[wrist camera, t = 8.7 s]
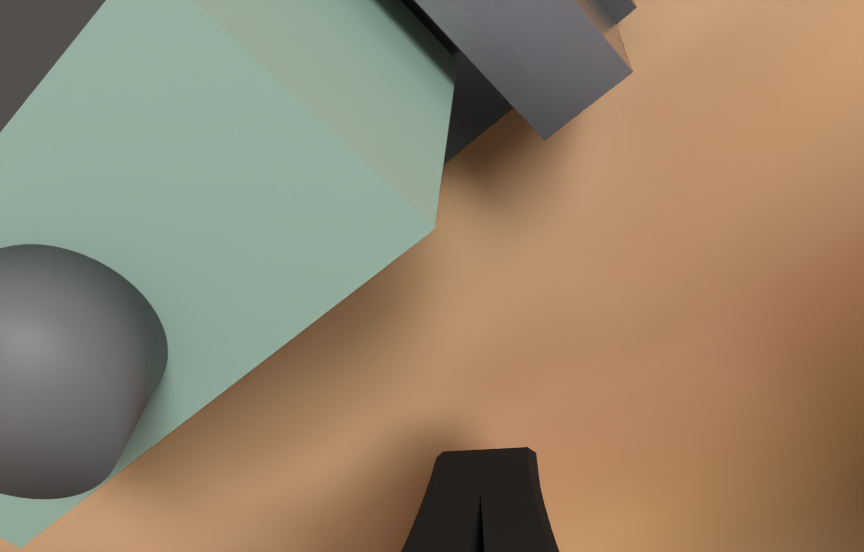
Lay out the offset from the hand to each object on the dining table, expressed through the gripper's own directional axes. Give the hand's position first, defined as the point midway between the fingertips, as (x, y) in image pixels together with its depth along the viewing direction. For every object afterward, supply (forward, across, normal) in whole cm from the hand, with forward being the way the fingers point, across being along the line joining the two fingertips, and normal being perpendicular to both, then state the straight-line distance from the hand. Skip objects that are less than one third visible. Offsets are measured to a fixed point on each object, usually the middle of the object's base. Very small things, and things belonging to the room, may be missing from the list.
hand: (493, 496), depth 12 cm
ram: (+2, +4, -5) cm, 7 cm away
